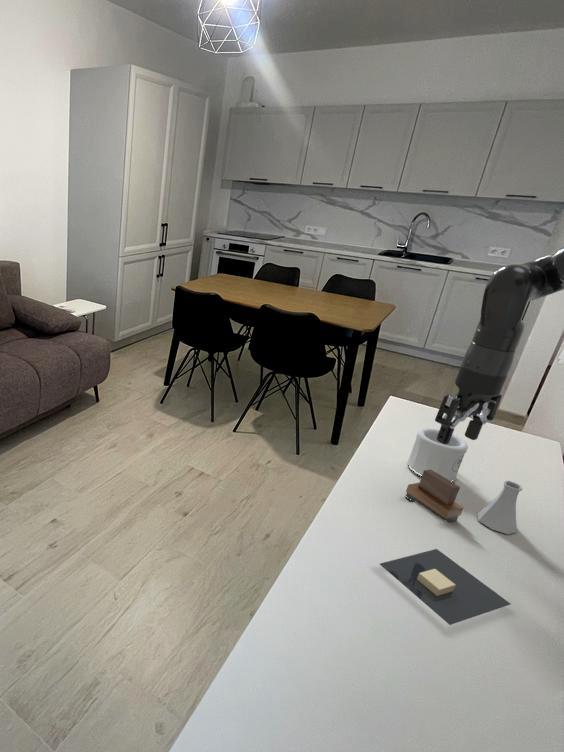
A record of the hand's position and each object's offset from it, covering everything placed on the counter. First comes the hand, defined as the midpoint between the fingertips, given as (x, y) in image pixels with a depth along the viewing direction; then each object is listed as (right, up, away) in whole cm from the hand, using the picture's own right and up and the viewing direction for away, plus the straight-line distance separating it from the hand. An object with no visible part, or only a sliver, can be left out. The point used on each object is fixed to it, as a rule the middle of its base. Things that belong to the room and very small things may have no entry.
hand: (456, 440), depth 103 cm
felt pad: (-15, -24, -16) cm, 32 cm away
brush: (0, -16, +8) cm, 18 cm away
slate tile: (-13, -24, -15) cm, 31 cm away
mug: (+10, -11, +24) cm, 28 cm away
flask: (+12, -19, +5) cm, 23 cm away
